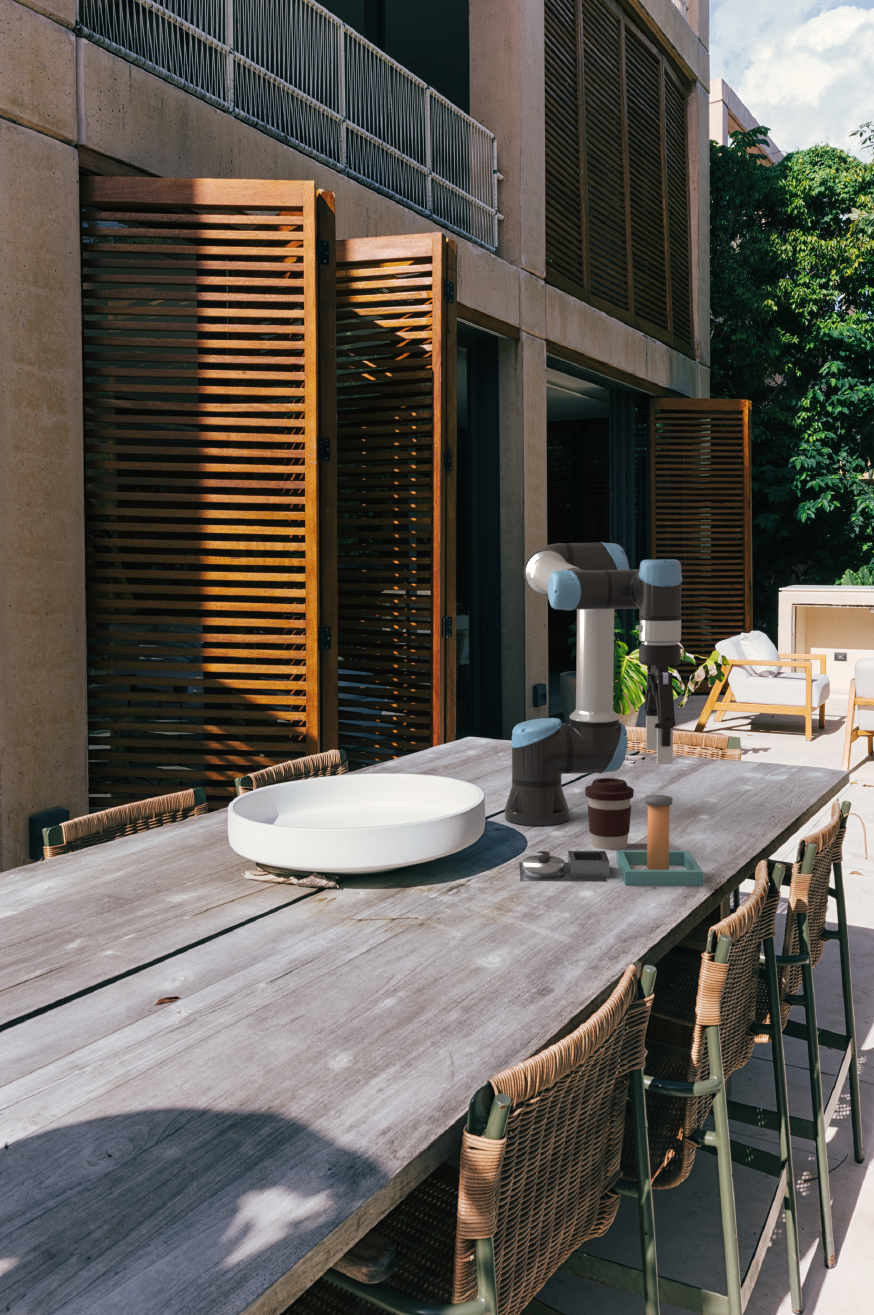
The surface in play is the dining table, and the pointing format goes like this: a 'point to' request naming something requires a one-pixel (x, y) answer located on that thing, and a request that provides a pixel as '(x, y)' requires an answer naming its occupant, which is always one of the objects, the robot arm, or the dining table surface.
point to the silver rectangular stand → (566, 867)
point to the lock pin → (658, 832)
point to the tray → (659, 877)
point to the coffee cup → (609, 812)
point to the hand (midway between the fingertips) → (658, 756)
